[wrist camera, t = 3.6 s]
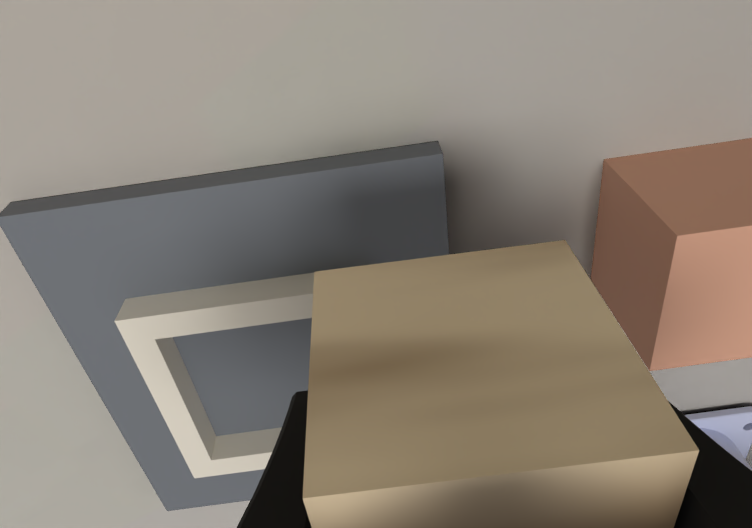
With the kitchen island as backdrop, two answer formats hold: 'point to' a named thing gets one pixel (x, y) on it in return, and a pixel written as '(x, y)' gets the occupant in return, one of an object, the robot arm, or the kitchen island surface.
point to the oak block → (483, 400)
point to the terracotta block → (679, 252)
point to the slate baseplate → (217, 296)
